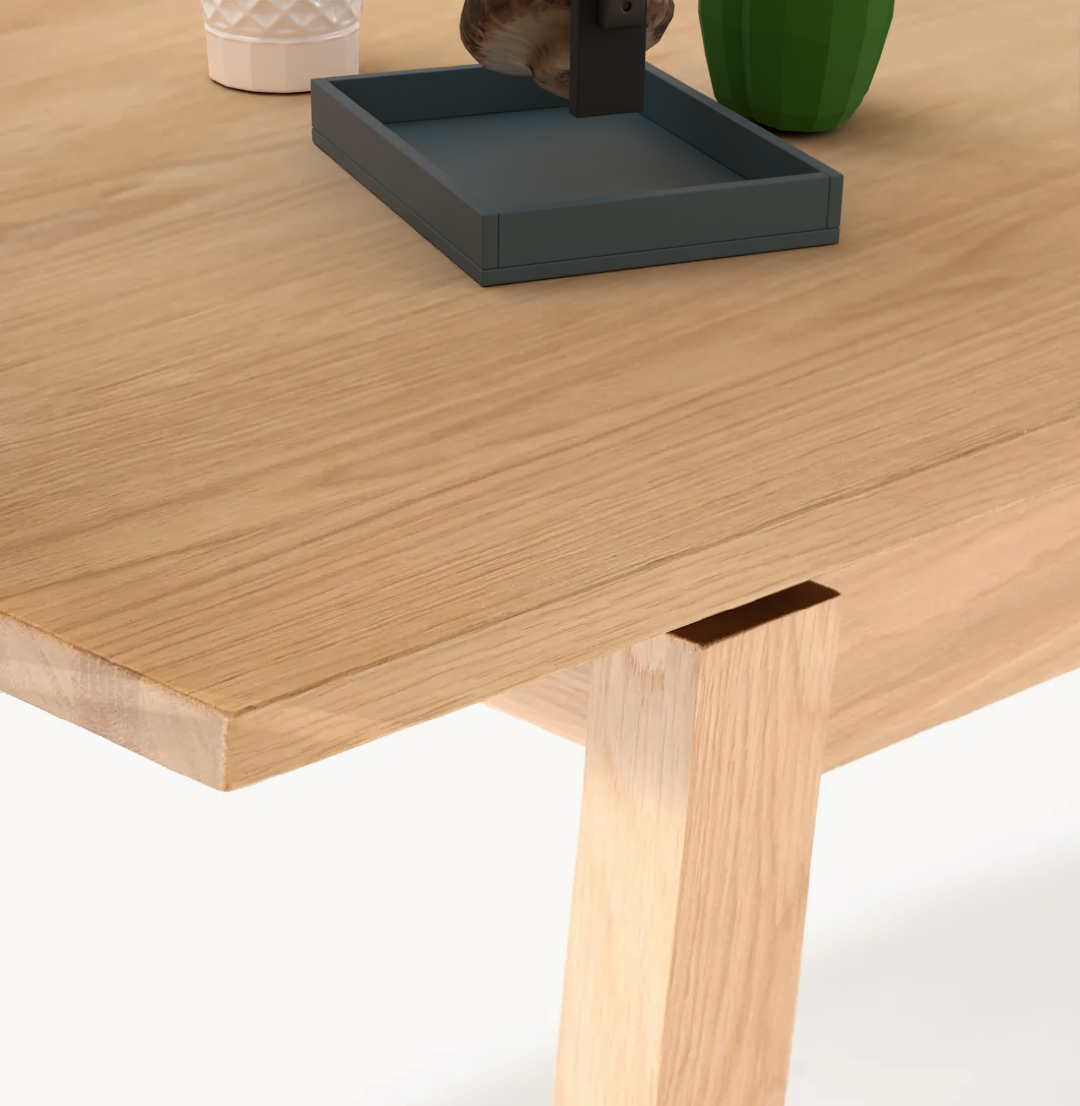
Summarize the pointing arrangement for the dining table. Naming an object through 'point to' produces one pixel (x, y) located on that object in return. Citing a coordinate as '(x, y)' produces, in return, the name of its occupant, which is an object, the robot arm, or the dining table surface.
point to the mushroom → (536, 37)
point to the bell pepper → (793, 57)
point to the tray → (570, 173)
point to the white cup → (280, 42)
